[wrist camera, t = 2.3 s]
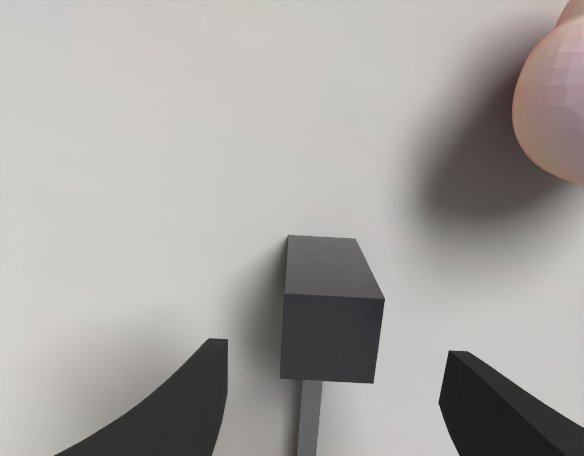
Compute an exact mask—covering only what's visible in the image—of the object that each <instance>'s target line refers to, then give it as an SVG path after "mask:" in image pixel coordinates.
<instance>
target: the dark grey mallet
mask: <svg viewBox="0 0 584 456" xmlns="http://www.w3.org/2000/svg"><path fill="white" fill-rule="evenodd" d="M384 302H385V298H384V296H383V294H382V292H381V290H380V288H379V286H378V284H377V282H376V280H375V278H374V276H373V274H372V272H371V270H370V268H369V265H368V263H367V261H366V259H365V257H364V255H363V253H362V251H361V249H360V247H359V245H358V243H357V241H356V239H350V238H332V237H313V236H295V235H289V237H288V251H287V265H286V279H285V292H284V311H283V330H282V349H281V368H280V379H296V380H302V392H301V406H300V419H299V433H298V447H297V456H316V448H317V437H318V426H319V415H320V404H321V393H322V382H323V381H334V382H352V383H371V384H373V383H374V376H375V368H376V361H377V353H378V346H379V339H380V331H381V324H382V317H383V309H384Z"/></svg>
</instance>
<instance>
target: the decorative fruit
mask: <svg viewBox="0 0 584 456" xmlns="http://www.w3.org/2000/svg"><path fill="white" fill-rule="evenodd" d="M512 119H513V127H514V131H515V136H516V138H517V140H518V142H519V145H520V146H521V148H522V149H523V151H524V152H525V154H526V155H527V156H528V157H529V158H530V159H531V160H532V161H533V162H534V163H535V164H536V165H537V166H539V167H540V168H542V169H543V170H545V171H547V172H548V173H550V174H552V175H555V176H557V177H559V178H561V179H564V180H566V181H569V182H572V183H575V184H577V185H580V186H583V187H584V0H570V1H569V2H568V3H567V5H566V7H565V8H564V10H563V12H562V14H561V16H560V18H559V20H558V22H557V24H556V26H555V28H554V29H553V30H552V31H551V32H550V33H548V34H547V35H546V36H545V37H543V38H542V39H541V40H540V41H539V42H538V43H537V44H536V45H535V47H534V48H533V49H532V51H531V52H530V54H529V56H528V57H527V59H526V61H525V63H524V66H523V68H522V70H521V73H520V75H519V78H518V81H517V84H516V88H515V92H514V97H513V106H512Z"/></svg>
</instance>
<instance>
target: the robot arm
mask: <svg viewBox="0 0 584 456" xmlns="http://www.w3.org/2000/svg"><path fill="white" fill-rule="evenodd" d="M227 386H228V339H213V338H209V339H208V340H206V341H205V342H204V343H203V344H202V346H201V347H200V348H199V349H198V350H197V351H196V352H195V353H194V354H193V355H192V356H191V357H190V358H189V359H188V360H187V361H186V362H185V363H184V364H183V365H182V366H181V367H180V368H179V369H178V370H177V371H176V372H175V373H174V374H173V375H172V376H171V377H170V378H169V379H168V380H167V381H165V382H164V383H163V384H162V385H161V386H160V387H158V388H157V389H156V390H155V391H154V392H153V393H152V394H150V395H149V396H148V397H147V398H146V399H144V400H143V401H142V402H141V403H139V404H138V405H137V406H135V407H134V408H132V409H131V410H130V411H128V412H127V413H126V414H124V415H123V416H121V417H120V418H118V419H117V420H115V421H113V422H112V423H110V424H109V425H107V426H105V427H104V428H102V429H101V430H99V431H97V432H96V433H94V434H93V435H91V436H89V437H88V438H86V439H84V440H83V441H81V442H79V443H77V444H75V445H73V446H72V447H70V448H68V449H66V450H64V451H62V452H60V453H58V454H56V455H54V456H212V453H213V450H214V447H215V443H216V440H217V437H218V433H219V430H220V427H221V423H222V419H223V414H224V408H225V403H226V398H227ZM439 406H440V409H441V412H442V415H443V418H444V421H445V424H446V426H447V429H448V432H449V434H450V437H451V439H452V441H453V443H454V445H455V447H456V449H457V451H458V453H459V455H460V456H584V428H583V427H581V426H580V425H578V424H576V423H575V422H573V421H571V420H569V419H568V418H566V417H565V416H563V415H561V414H560V413H558V412H557V411H555V410H554V409H552V408H550V407H549V406H547V405H546V404H544V403H543V402H541V401H540V400H538V399H537V398H535V397H534V396H532V395H531V394H529V393H528V392H526V391H525V390H523V389H522V388H520V387H519V386H518V385H516V384H515V383H513V382H512V381H510V380H509V379H508V378H506V377H505V376H503V375H502V374H501V373H499V372H498V371H496V370H495V369H493V368H492V367H491V366H489V365H488V364H486V363H485V362H483V361H482V360H480V359H479V358H477V357H476V356H474V355H473V354H471V353H469V352H468V351H449V353H448V358H447V363H446V368H445V373H444V378H443V383H442V388H441V393H440V398H439Z"/></svg>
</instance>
